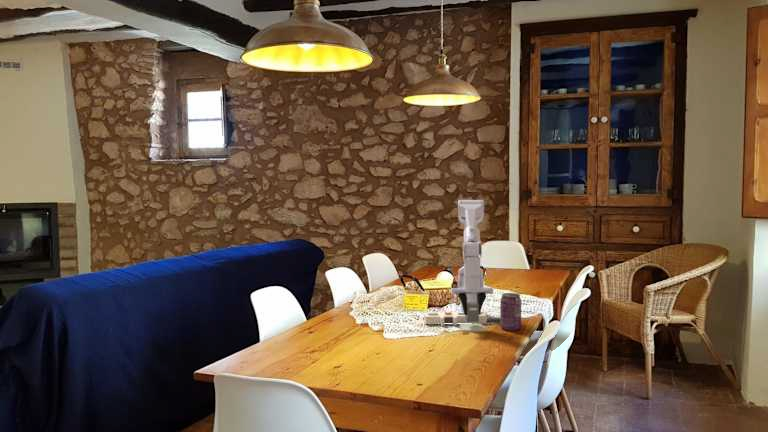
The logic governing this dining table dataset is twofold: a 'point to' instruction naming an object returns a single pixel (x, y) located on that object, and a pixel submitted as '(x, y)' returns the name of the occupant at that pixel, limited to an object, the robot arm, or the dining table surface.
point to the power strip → (453, 318)
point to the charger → (472, 312)
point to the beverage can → (510, 311)
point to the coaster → (471, 327)
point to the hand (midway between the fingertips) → (471, 314)
